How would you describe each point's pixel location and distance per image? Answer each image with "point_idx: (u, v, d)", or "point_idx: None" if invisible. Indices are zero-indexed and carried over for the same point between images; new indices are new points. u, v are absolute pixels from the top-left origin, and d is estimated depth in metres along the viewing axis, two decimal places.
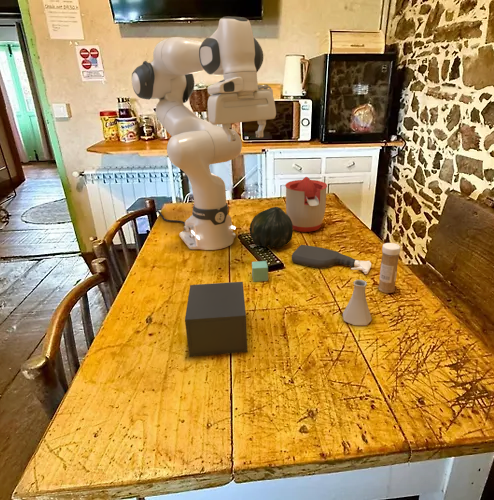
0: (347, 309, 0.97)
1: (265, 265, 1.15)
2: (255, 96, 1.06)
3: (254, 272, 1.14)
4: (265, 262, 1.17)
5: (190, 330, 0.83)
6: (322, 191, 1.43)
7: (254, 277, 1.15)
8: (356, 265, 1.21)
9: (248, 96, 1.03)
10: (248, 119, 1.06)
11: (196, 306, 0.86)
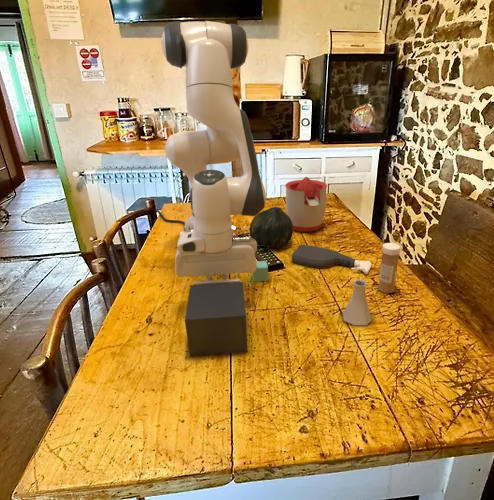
0: (347, 309, 0.97)
1: (265, 265, 1.15)
2: (227, 252, 0.96)
3: (254, 272, 1.14)
4: (265, 262, 1.17)
5: (190, 330, 0.83)
6: (322, 191, 1.43)
7: (254, 277, 1.15)
8: (356, 265, 1.21)
9: (214, 255, 0.95)
10: (217, 273, 0.98)
11: (196, 306, 0.86)
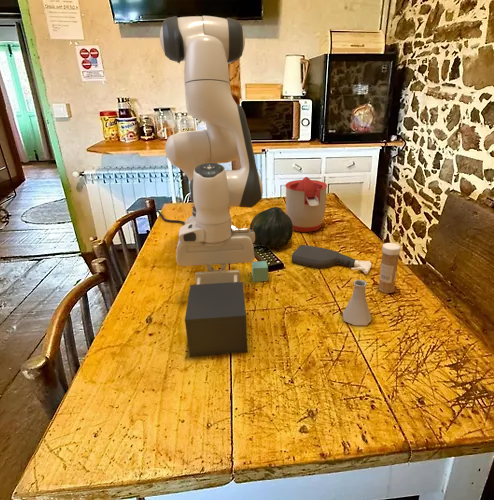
0: (347, 309, 0.97)
1: (265, 265, 1.15)
2: (227, 242, 1.00)
3: (254, 272, 1.14)
4: (265, 262, 1.17)
5: (190, 330, 0.83)
6: (322, 191, 1.43)
7: (254, 277, 1.15)
8: (356, 265, 1.21)
9: (214, 245, 0.99)
10: (216, 263, 1.02)
11: (196, 306, 0.86)
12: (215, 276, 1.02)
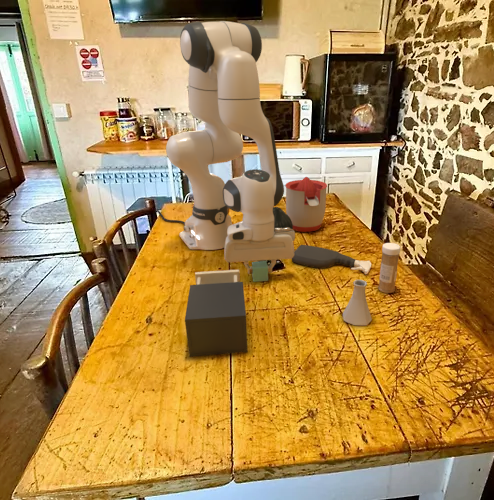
0: (347, 309, 0.97)
1: (265, 265, 1.15)
2: (270, 240, 1.11)
3: (254, 272, 1.14)
4: (265, 262, 1.17)
5: (190, 330, 0.83)
6: (322, 191, 1.43)
7: (254, 277, 1.15)
8: (356, 265, 1.21)
9: (259, 243, 1.09)
10: (260, 259, 1.13)
11: (196, 306, 0.86)
12: (215, 276, 1.02)
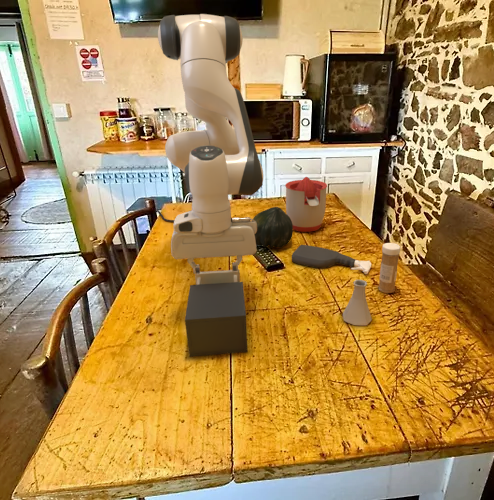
0: (347, 309, 0.97)
1: None
2: (226, 233, 0.92)
3: None
4: None
5: (190, 330, 0.83)
6: (322, 191, 1.43)
7: None
8: (356, 265, 1.21)
9: (212, 235, 0.90)
10: (215, 255, 0.94)
11: (196, 306, 0.86)
12: (215, 276, 1.02)
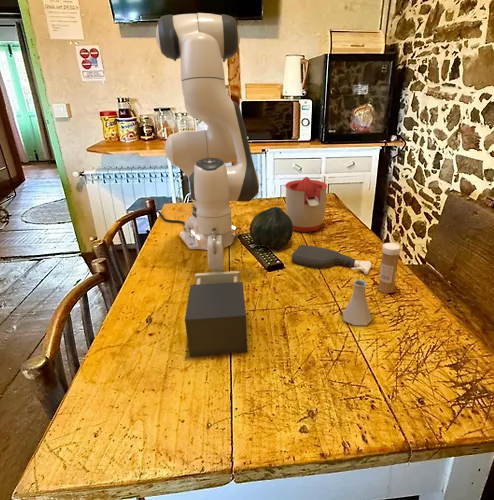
0: (347, 309, 0.97)
1: None
2: (208, 238, 1.01)
3: None
4: None
5: (190, 330, 0.83)
6: (322, 191, 1.43)
7: None
8: (356, 265, 1.21)
9: (203, 234, 1.03)
10: None
11: (196, 306, 0.86)
12: (215, 277, 1.02)
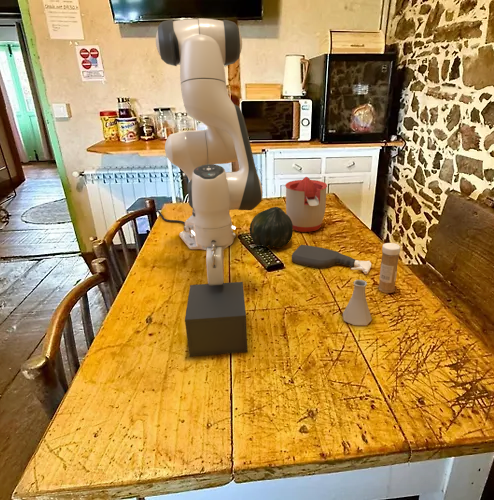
0: (347, 309, 0.97)
1: None
2: (207, 250, 0.94)
3: None
4: None
5: (190, 330, 0.83)
6: (322, 191, 1.43)
7: None
8: (356, 265, 1.21)
9: None
10: None
11: (196, 306, 0.86)
12: None
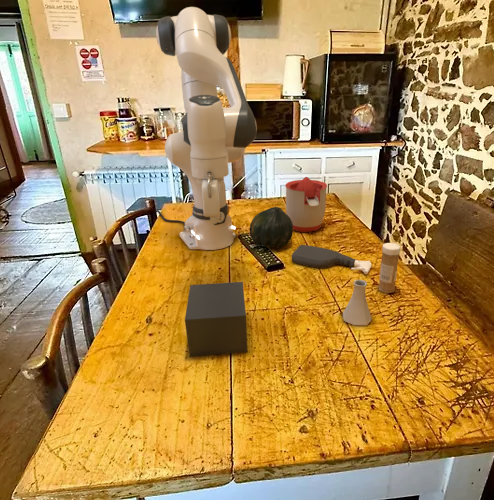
0: (347, 309, 0.97)
1: None
2: None
3: None
4: None
5: (190, 330, 0.83)
6: (322, 191, 1.43)
7: None
8: (356, 265, 1.21)
9: None
10: None
11: (196, 306, 0.86)
12: None
